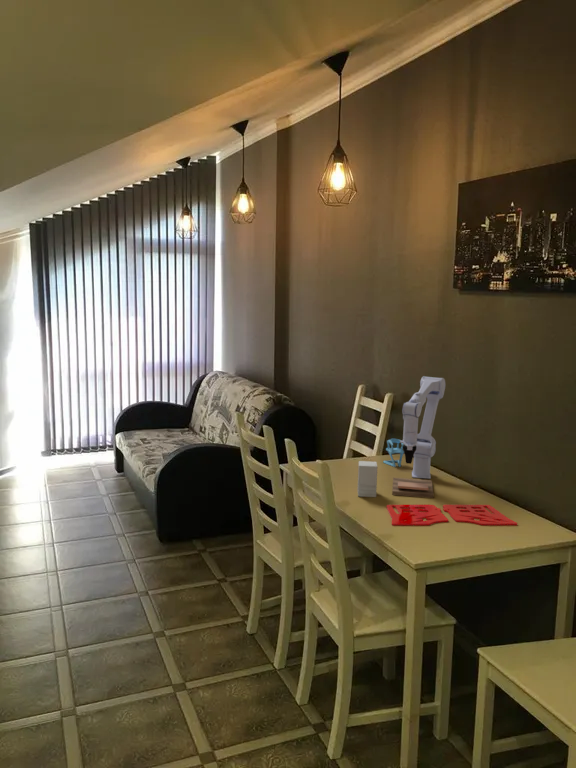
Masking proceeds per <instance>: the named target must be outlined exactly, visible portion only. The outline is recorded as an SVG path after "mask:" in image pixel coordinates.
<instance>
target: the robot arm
mask: <svg viewBox="0 0 576 768" xmlns="http://www.w3.org/2000/svg"><path fill="white" fill-rule="evenodd" d="M419 383H420V384H419V386H420V388H419V390H418V392H414V393H413V394H412V396H411V398H410V399H409V400H408V401H406V402H403V405H402V409H401V413H402V420H403V432H402V433H403V434H402V440H401V439H399V440H400V443H399V444H401V443H403V444H404V445H403V451H404V453H403V454H404V458H405V464H412V462H413V465H412V468H413V469H412V470H411V477H412V479H413V478H415V479H425V480H430V479H431V478H432V477H431V462H432V461H431V459H432V457H433V456H435V454H436V450H437V449H436V444H437V441H436V439H435V438H434V436H432V433H433V427H434V422H435V418H436V415H437V410H438V405H439V402H440V400H441V399H443V398H444V395H445V391H446V390H445V389H446V379H445V378H444V377H434V376H433V377H432V376H425V375H423V376H422V377H421V379H420V381H419ZM425 403H426V404H425ZM424 404H425V408H424V409H425V410H424V413H423V417H422V418H423V419H422V422H421V426H420V431H419V433H418V429H419V417H420V416H421V415H422V414H421V413H422V409H423V408H422V407H424Z"/></svg>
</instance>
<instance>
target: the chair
mask: <svg viewBox="0 0 576 768" xmlns="http://www.w3.org/2000/svg"><path fill="white" fill-rule="evenodd" d="M400 440H401V439H398V438H390V439H388V440H386V444H387V447H386V448H385V451H387V453H388V454H389V457H390V459H389V460H383V463H384V464H386V465H388V466H391V467H393V468H396V467H399V468H400V467H401V466H402V461H403V460H402V459H403V456H404V454H405V453H404V450H403V445H404V444H403V443H400ZM394 444H396V447H394ZM399 444H401V447H400V445H399ZM390 446H391V447H390ZM393 454H399V459H395V460H394V457H393ZM396 463H397V466H396Z"/></svg>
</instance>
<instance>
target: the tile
mask: <svg viewBox="0 0 576 768" xmlns="http://www.w3.org/2000/svg"><path fill="white" fill-rule="evenodd" d="M398 488H403V489H416V490H428V484H422V483H409V482H398Z"/></svg>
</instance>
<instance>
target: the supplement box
mask: <svg viewBox="0 0 576 768" xmlns="http://www.w3.org/2000/svg"><path fill="white" fill-rule="evenodd" d="M357 468H358V474H357V475H358V476H357V496H358V497H364V498H365V497H366V498H376V497H377V490H378V489H377V488H378V487H377V483H378V462H377V461H371V460H370V461H366V460H359V461H358V467H357Z"/></svg>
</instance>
